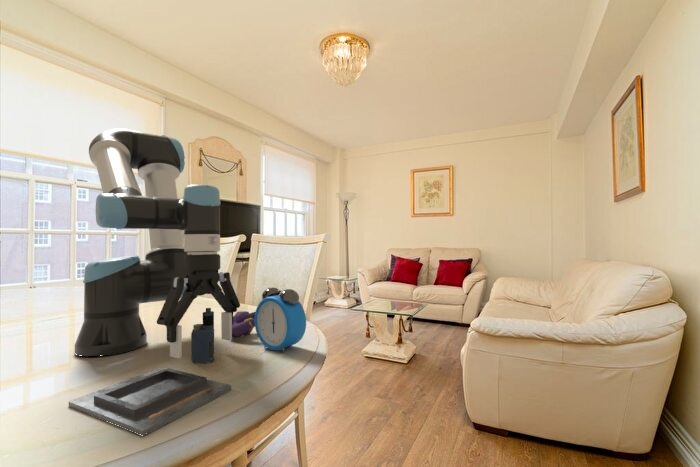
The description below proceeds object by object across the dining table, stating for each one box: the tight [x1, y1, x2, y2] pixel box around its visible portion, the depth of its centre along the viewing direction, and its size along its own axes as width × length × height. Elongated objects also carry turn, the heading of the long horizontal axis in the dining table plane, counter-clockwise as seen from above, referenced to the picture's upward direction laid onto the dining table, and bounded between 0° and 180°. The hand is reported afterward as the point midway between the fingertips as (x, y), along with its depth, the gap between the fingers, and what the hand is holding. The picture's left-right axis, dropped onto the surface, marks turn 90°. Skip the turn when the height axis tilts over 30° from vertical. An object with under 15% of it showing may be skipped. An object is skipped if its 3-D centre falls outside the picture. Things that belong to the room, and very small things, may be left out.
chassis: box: [68, 367, 232, 436], centre depth 58 cm, size 20×16×2 cm
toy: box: [232, 310, 256, 339], centre depth 95 cm, size 11×12×7 cm
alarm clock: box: [254, 286, 307, 353], centre depth 84 cm, size 13×6×15 cm, turn 55°
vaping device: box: [190, 307, 215, 364], centre depth 75 cm, size 3×5×12 cm, turn 78°
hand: (203, 347), depth 75 cm, fingers open, 13 cm apart
